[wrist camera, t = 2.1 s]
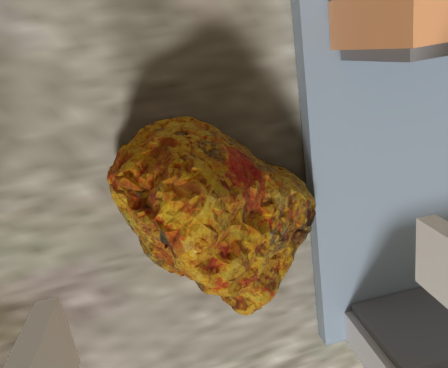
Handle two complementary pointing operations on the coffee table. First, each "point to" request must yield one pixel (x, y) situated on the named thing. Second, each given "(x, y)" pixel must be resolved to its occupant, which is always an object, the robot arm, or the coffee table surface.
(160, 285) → the coffee table surface
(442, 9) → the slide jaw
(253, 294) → the rock
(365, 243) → the base
